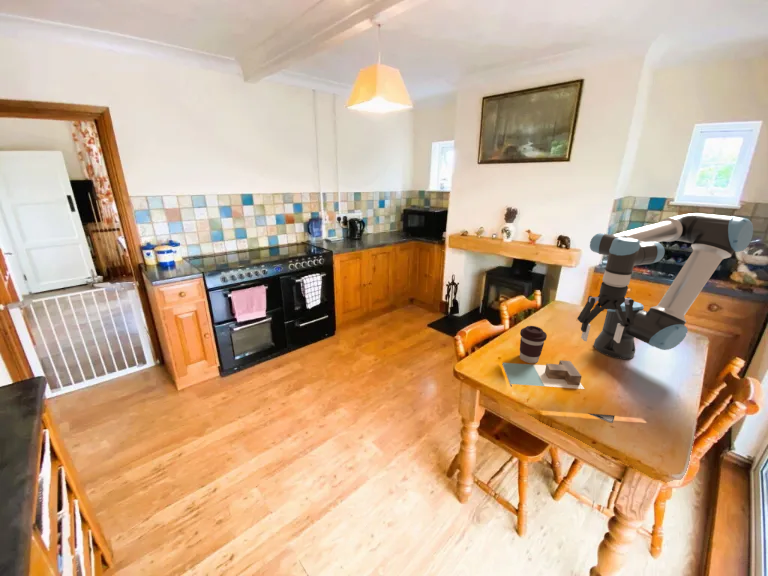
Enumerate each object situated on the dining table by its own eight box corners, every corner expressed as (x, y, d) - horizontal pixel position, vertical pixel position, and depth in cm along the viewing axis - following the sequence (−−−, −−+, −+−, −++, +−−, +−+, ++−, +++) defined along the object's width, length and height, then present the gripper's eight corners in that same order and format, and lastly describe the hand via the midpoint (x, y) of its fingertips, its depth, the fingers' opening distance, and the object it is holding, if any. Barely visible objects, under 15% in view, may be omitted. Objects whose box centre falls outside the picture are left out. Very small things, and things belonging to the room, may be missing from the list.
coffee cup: (544, 368, 132) (550, 336, 127) (518, 365, 134) (523, 334, 128) (538, 355, 141) (544, 324, 136) (514, 353, 143) (519, 322, 138)
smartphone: (618, 398, 114) (613, 422, 104) (618, 400, 115) (612, 424, 104) (594, 390, 119) (586, 412, 108) (593, 391, 119) (586, 414, 108)
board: (568, 369, 131) (569, 366, 131) (584, 391, 118) (584, 388, 118) (502, 365, 134) (502, 362, 134) (510, 386, 121) (511, 383, 121)
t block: (568, 369, 129) (570, 361, 128) (579, 385, 120) (581, 376, 118) (542, 367, 130) (543, 359, 129) (551, 383, 121) (553, 374, 120)
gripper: (644, 281, 112) (628, 336, 120) (574, 278, 115) (562, 333, 123) (659, 288, 105) (640, 347, 113) (584, 286, 108) (571, 343, 116)
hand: (600, 340), depth 118 cm, fingers open, 10 cm apart
